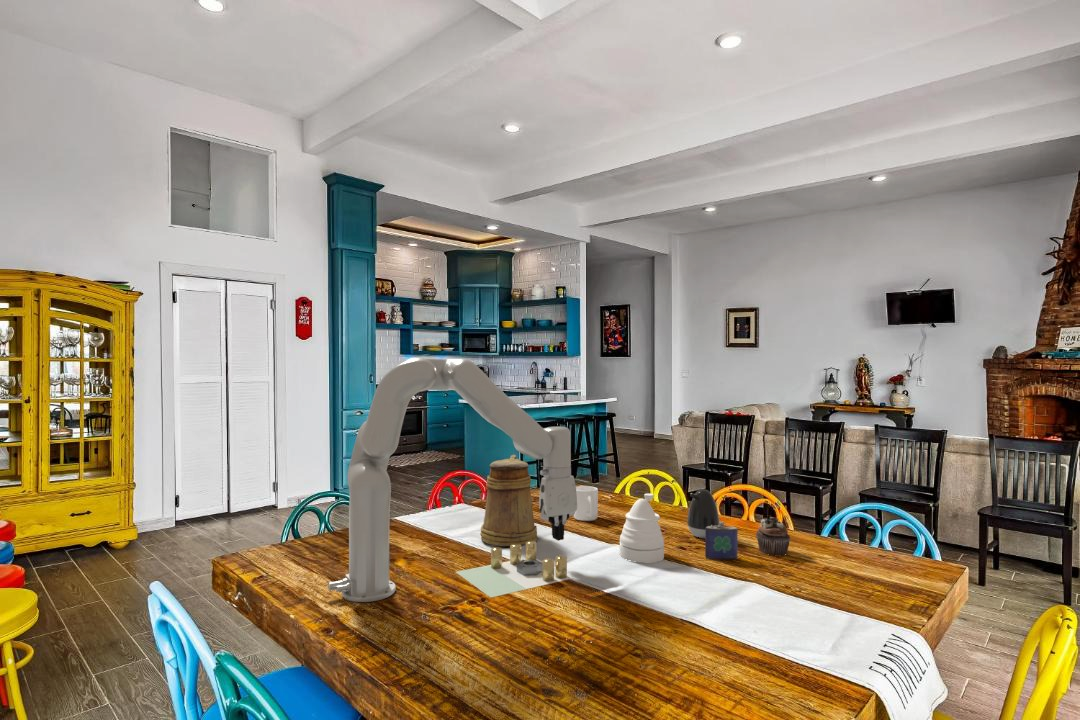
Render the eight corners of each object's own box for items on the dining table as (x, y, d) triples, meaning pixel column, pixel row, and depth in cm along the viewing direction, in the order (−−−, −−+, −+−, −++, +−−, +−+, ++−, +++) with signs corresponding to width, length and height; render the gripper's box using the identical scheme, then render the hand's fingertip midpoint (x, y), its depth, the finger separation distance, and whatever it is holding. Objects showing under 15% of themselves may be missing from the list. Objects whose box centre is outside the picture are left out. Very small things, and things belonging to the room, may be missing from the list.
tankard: (477, 548, 184) (477, 465, 183) (485, 526, 207) (485, 453, 207) (537, 548, 183) (537, 466, 183) (538, 526, 207) (538, 453, 207)
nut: (526, 577, 157) (526, 569, 157) (513, 569, 163) (513, 561, 163) (546, 573, 160) (546, 564, 160) (532, 565, 166) (532, 557, 166)
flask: (736, 557, 177) (736, 520, 177) (739, 560, 174) (739, 523, 174) (704, 556, 177) (704, 520, 177) (706, 560, 174) (706, 522, 174)
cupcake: (795, 557, 177) (795, 523, 177) (762, 556, 177) (762, 522, 177) (783, 547, 187) (783, 514, 187) (751, 546, 187) (751, 514, 187)
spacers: (522, 588, 150) (523, 567, 150) (489, 566, 165) (489, 548, 165) (569, 577, 158) (569, 558, 158) (532, 557, 173) (532, 540, 173)
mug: (579, 524, 210) (579, 493, 210) (571, 515, 222) (571, 486, 222) (603, 523, 212) (603, 492, 212) (594, 514, 224) (594, 485, 223)
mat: (490, 600, 144) (490, 597, 144) (455, 574, 161) (455, 571, 161) (572, 581, 157) (572, 578, 157) (532, 559, 174) (532, 556, 174)
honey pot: (661, 549, 184) (662, 490, 183) (666, 564, 171) (666, 500, 171) (618, 547, 185) (619, 488, 185) (620, 562, 172) (620, 498, 172)
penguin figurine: (680, 533, 200) (680, 487, 200) (705, 530, 204) (705, 485, 204) (700, 542, 190) (700, 494, 190) (726, 538, 195) (726, 491, 195)
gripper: (541, 477, 159) (542, 547, 159) (587, 471, 167) (588, 537, 167) (526, 473, 165) (527, 540, 166) (571, 467, 173) (572, 531, 174)
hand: (558, 538), depth 166 cm, fingers closed
